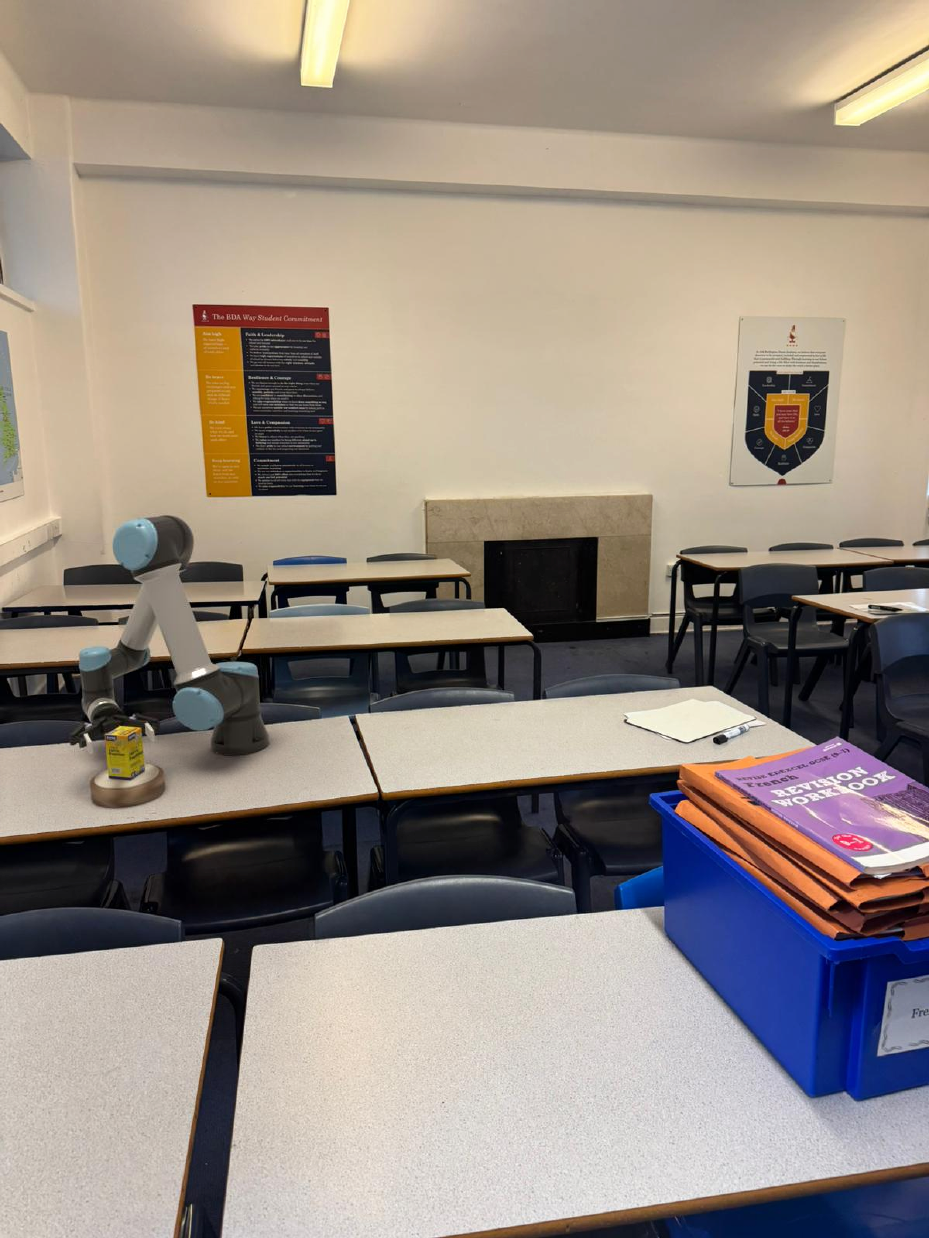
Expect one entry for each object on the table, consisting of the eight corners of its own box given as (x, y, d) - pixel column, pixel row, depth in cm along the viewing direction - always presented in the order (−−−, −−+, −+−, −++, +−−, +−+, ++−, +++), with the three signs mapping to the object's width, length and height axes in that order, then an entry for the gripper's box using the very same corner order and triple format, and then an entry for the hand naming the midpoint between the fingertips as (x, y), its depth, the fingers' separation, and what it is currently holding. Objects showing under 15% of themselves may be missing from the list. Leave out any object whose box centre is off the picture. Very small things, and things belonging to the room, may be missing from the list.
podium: (169, 776, 200) (167, 759, 199) (159, 804, 185) (157, 785, 184) (100, 782, 197) (98, 764, 196) (84, 810, 181) (82, 792, 180)
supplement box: (131, 780, 186) (126, 736, 184) (108, 778, 187) (103, 734, 185) (146, 770, 192) (142, 727, 190) (123, 769, 193) (119, 725, 191)
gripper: (158, 721, 213) (178, 746, 196) (53, 740, 200) (64, 768, 182) (156, 694, 212) (176, 716, 194) (49, 711, 198) (61, 737, 181)
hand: (122, 741), depth 188 cm, fingers open, 13 cm apart
